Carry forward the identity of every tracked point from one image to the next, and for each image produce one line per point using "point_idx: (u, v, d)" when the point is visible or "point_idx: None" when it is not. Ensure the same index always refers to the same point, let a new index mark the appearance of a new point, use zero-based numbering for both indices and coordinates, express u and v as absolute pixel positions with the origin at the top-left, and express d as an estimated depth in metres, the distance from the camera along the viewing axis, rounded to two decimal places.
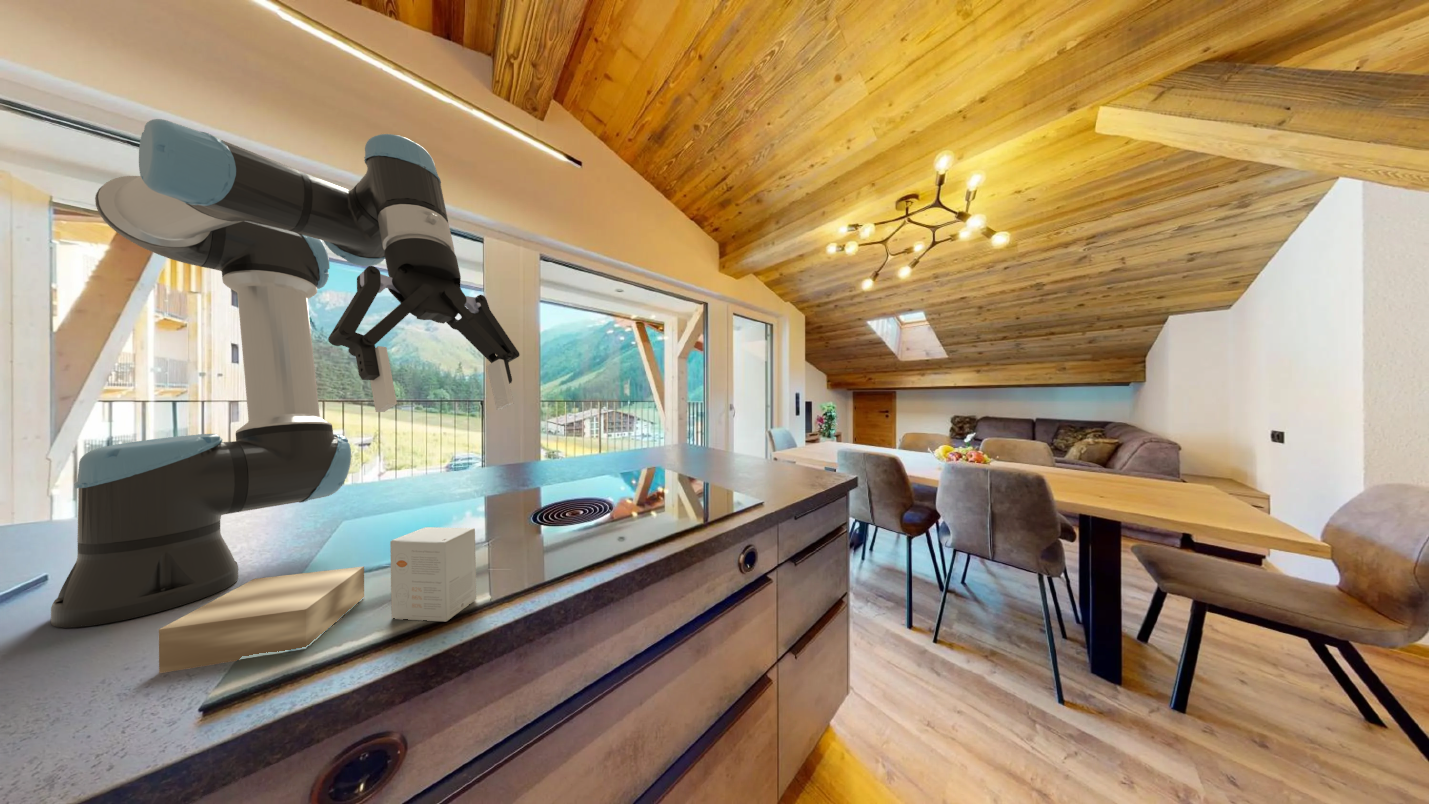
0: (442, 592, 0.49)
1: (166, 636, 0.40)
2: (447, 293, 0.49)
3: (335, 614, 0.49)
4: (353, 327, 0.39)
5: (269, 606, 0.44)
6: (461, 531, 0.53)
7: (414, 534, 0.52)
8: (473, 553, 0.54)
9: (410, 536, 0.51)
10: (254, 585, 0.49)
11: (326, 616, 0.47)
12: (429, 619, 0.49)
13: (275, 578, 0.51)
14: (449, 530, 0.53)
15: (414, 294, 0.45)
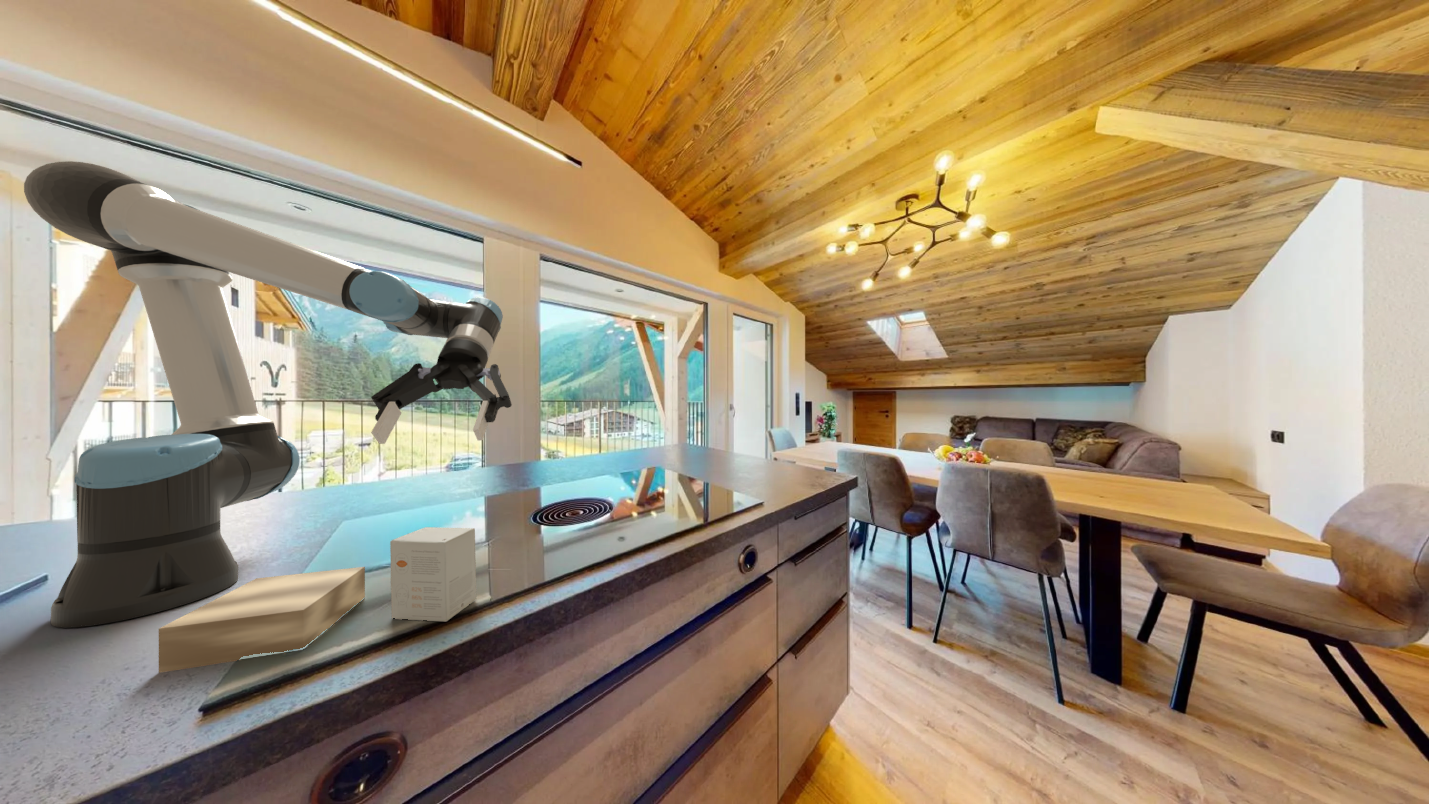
0: (442, 592, 0.49)
1: (166, 635, 0.40)
2: None
3: (334, 614, 0.49)
4: None
5: (268, 606, 0.44)
6: (461, 531, 0.53)
7: (414, 534, 0.52)
8: (473, 553, 0.54)
9: (410, 536, 0.51)
10: (256, 585, 0.50)
11: (325, 617, 0.47)
12: (429, 619, 0.49)
13: (277, 578, 0.51)
14: (449, 530, 0.53)
15: None
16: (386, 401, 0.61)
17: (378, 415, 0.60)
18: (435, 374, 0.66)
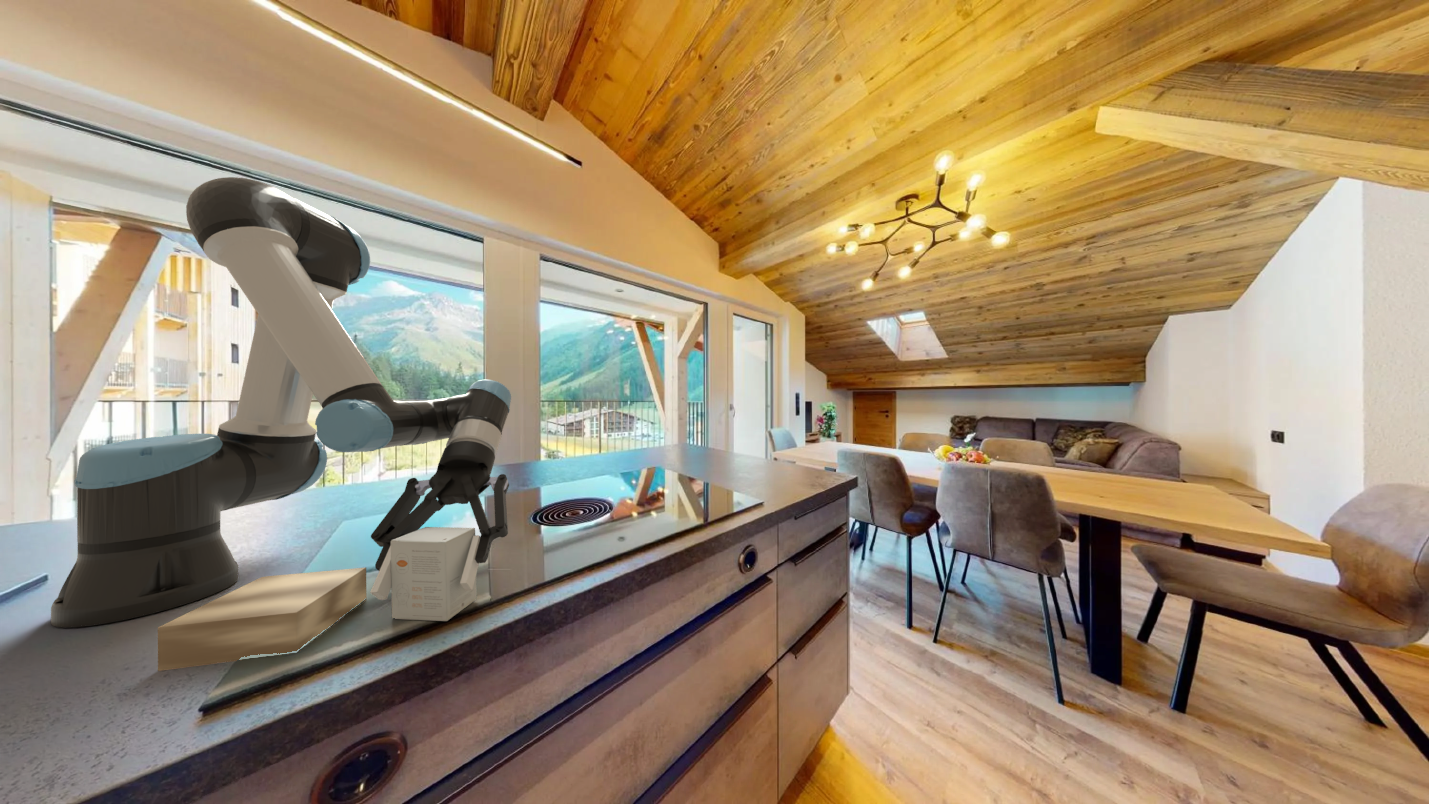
0: (442, 591, 0.49)
1: (164, 634, 0.40)
2: None
3: (331, 616, 0.48)
4: None
5: (265, 607, 0.44)
6: (461, 531, 0.53)
7: (414, 534, 0.52)
8: None
9: (410, 536, 0.51)
10: (260, 583, 0.50)
11: (322, 619, 0.47)
12: (429, 619, 0.49)
13: (281, 577, 0.52)
14: (449, 530, 0.53)
15: (477, 497, 0.61)
16: (389, 541, 0.51)
17: (379, 562, 0.50)
18: (438, 491, 0.57)
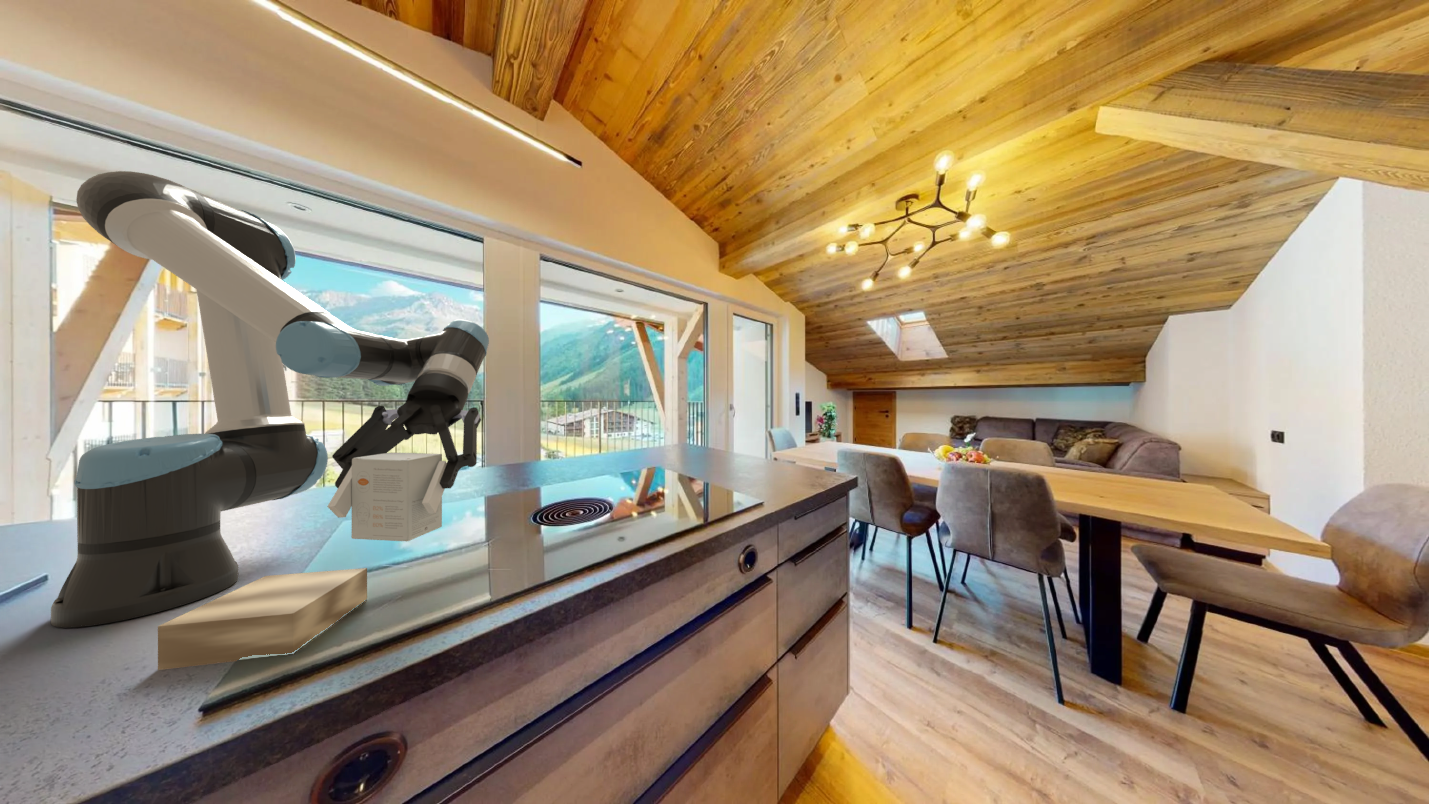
0: (404, 511, 0.48)
1: (164, 633, 0.40)
2: None
3: (330, 617, 0.48)
4: None
5: (263, 607, 0.44)
6: (427, 455, 0.52)
7: (378, 455, 0.50)
8: None
9: (373, 456, 0.50)
10: (262, 583, 0.50)
11: (320, 620, 0.46)
12: (390, 539, 0.48)
13: (283, 576, 0.52)
14: (414, 454, 0.52)
15: None
16: (351, 461, 0.50)
17: (339, 481, 0.48)
18: (405, 419, 0.56)
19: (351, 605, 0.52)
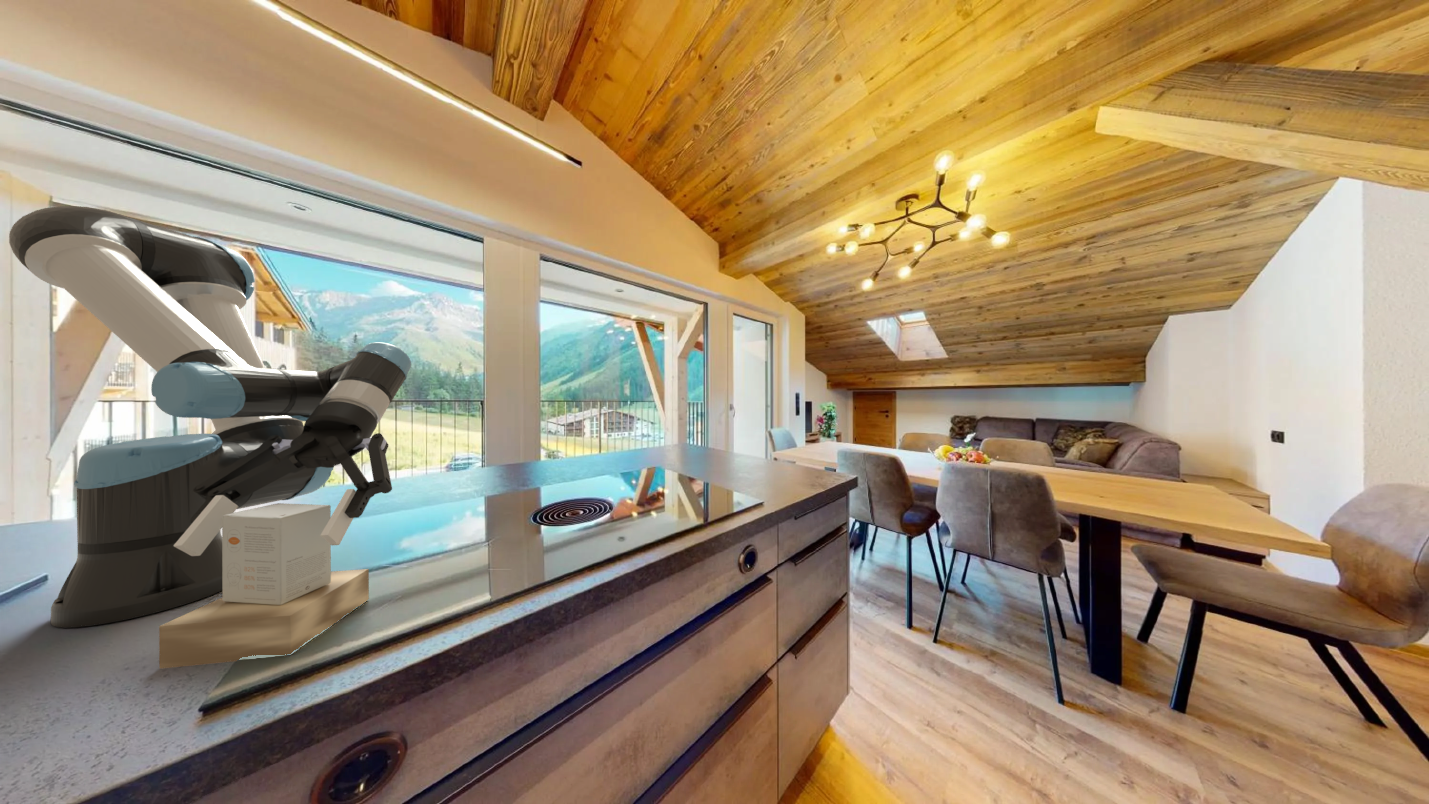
0: (276, 572, 0.44)
1: (165, 633, 0.41)
2: None
3: (329, 618, 0.48)
4: None
5: (263, 608, 0.44)
6: (311, 507, 0.48)
7: (256, 509, 0.47)
8: None
9: (249, 511, 0.47)
10: None
11: (319, 622, 0.46)
12: (262, 602, 0.45)
13: None
14: (298, 506, 0.49)
15: None
16: (212, 494, 0.47)
17: (196, 516, 0.46)
18: (292, 451, 0.52)
19: (352, 606, 0.51)
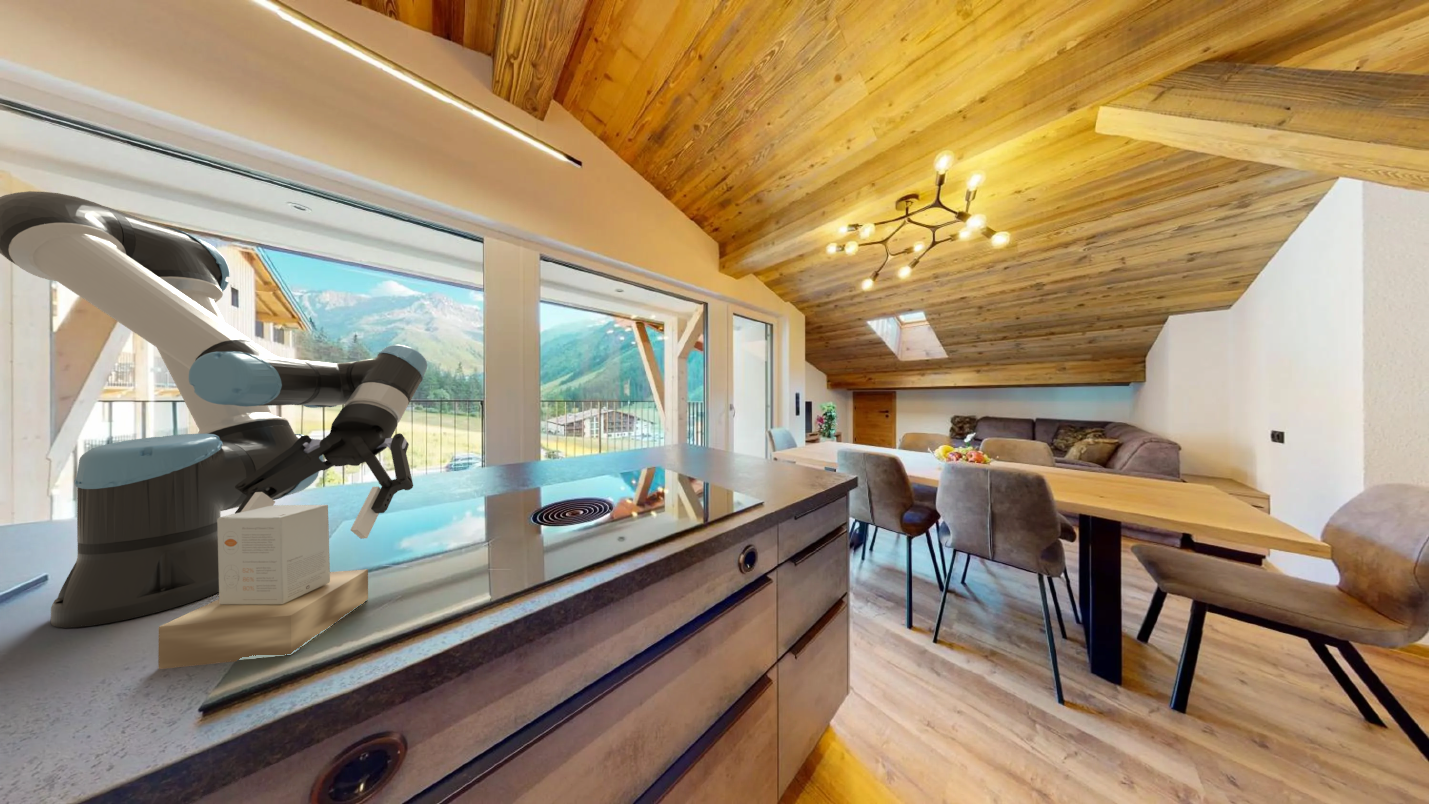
0: (277, 572, 0.45)
1: (165, 634, 0.41)
2: None
3: (329, 619, 0.48)
4: None
5: (262, 609, 0.44)
6: (309, 507, 0.49)
7: (251, 511, 0.47)
8: (325, 531, 0.50)
9: (244, 513, 0.46)
10: None
11: (319, 622, 0.46)
12: (263, 602, 0.45)
13: None
14: (295, 507, 0.49)
15: (375, 458, 0.60)
16: (252, 491, 0.52)
17: (239, 511, 0.50)
18: (321, 451, 0.56)
19: (351, 607, 0.51)
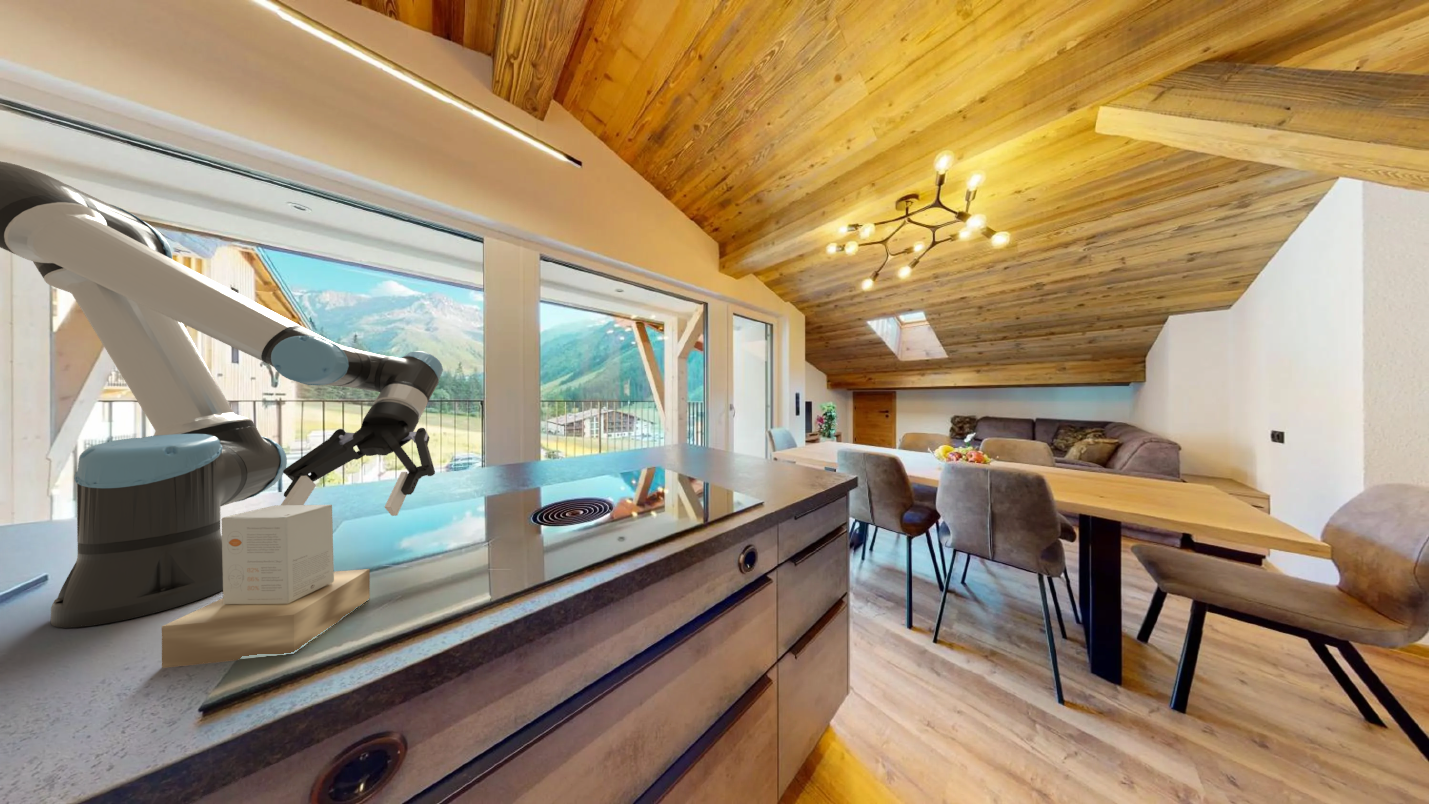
0: (282, 571, 0.45)
1: (168, 633, 0.41)
2: None
3: (331, 618, 0.48)
4: None
5: (265, 608, 0.44)
6: (313, 507, 0.49)
7: (255, 511, 0.47)
8: (329, 531, 0.50)
9: (249, 513, 0.46)
10: None
11: (321, 621, 0.47)
12: (268, 602, 0.45)
13: None
14: (299, 507, 0.49)
15: None
16: (298, 475, 0.60)
17: (288, 492, 0.58)
18: (355, 442, 0.65)
19: (353, 606, 0.52)
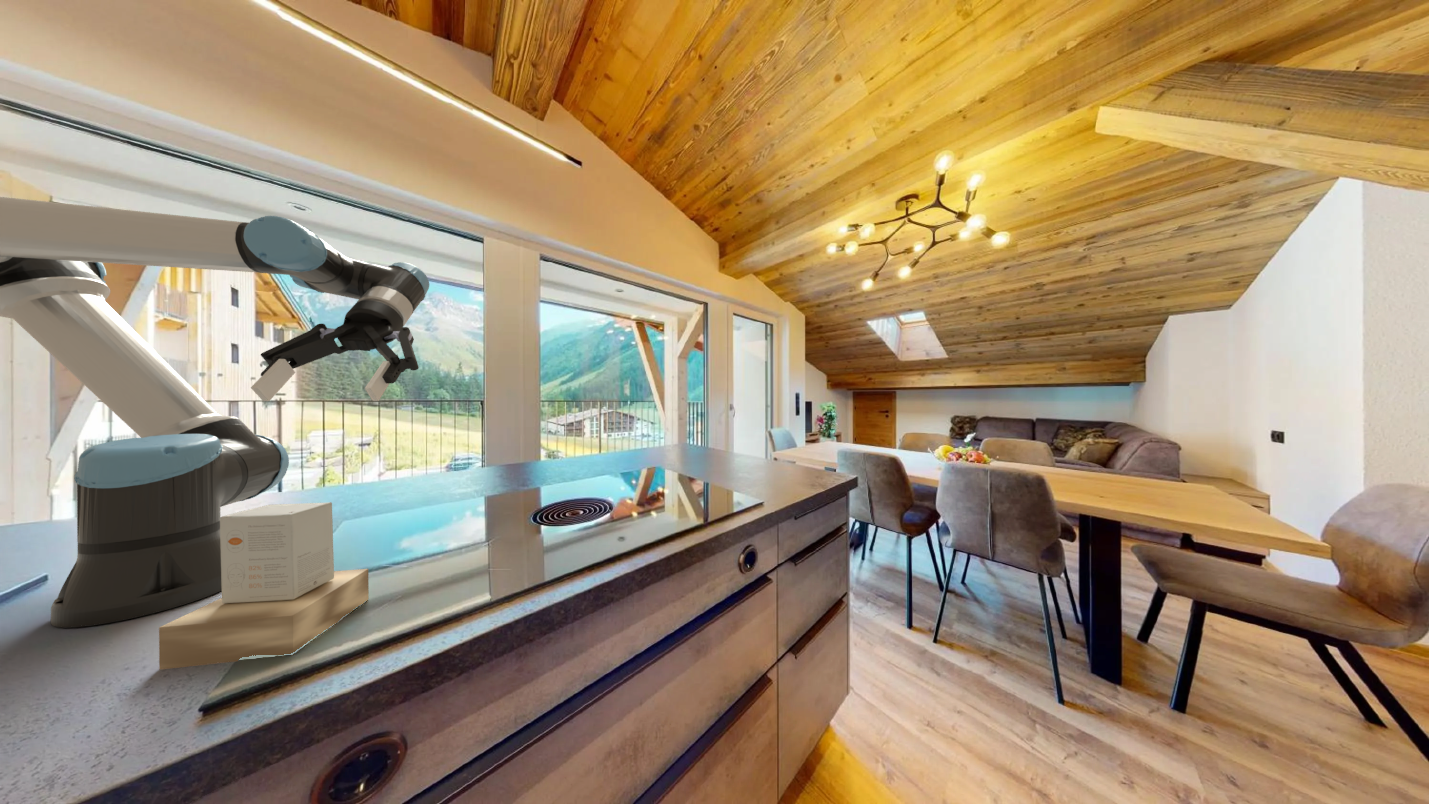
0: (287, 567, 0.46)
1: (165, 634, 0.41)
2: None
3: (330, 618, 0.48)
4: None
5: (264, 609, 0.44)
6: (314, 505, 0.49)
7: (253, 510, 0.47)
8: (330, 528, 0.50)
9: (247, 512, 0.47)
10: None
11: (320, 621, 0.46)
12: (271, 599, 0.45)
13: None
14: (298, 505, 0.49)
15: None
16: (276, 358, 0.58)
17: (265, 372, 0.57)
18: (336, 334, 0.63)
19: (352, 606, 0.51)
